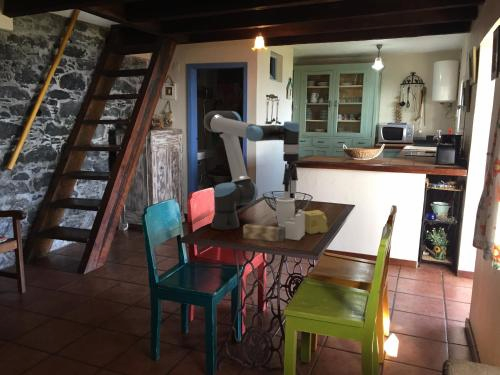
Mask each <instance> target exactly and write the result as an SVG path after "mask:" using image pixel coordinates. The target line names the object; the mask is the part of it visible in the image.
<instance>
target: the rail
mask: <svg viewBox="0 0 500 375" xmlns="http://www.w3.org/2000/svg"><path fill="white" fill-rule="evenodd" d="M242 229H243V231H242V232H243V239H248V240H250V239H251V240H261V241H266V242H267V241H269V242H270V241H271V242H279V243H283V242H284V241H285V240H286V239H285V227H279V226H271V225H270V226H268V225H259V224H250V223H249V224H247V223H246V224H245V225H243V228H242Z"/></svg>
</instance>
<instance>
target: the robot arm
mask: <svg viewBox="0 0 500 375" xmlns="http://www.w3.org/2000/svg"><path fill="white" fill-rule="evenodd" d="M203 125H204V128H205V129H206V130H207V131H209V132H212V133H218V134H219V137H220V138H221V139H222V140H223V144H224V148H225V153H226V156H227V161H228V162H227V163H228V165H229V171H230V174H231V178H232V180H231V182H222V183H219V184H217V185H215V186H214V189H213V197H214V198H213V201H214V202H213V203H214V205H213V206H214V212H213V217H212V220H211V228H212V229H214V230H219V231H220V230H223V231H228V230H234V229H235V230H236V229H238V228H239V227H240V221H239V218H238V214H237V206H242V205H248V204H251V203H253V202H255V201H256V200H257V197H258V194H259V190H258V186H257V184H255V182H252V179H251V177H249V175H248V173H247V169H246V165H245V160H244V156H243V151H242V148H241V143H240V139H239V137H240V138H244V139H247V140H248V141H250V142H264V141H265V142H267V141H283V148H282V149H283V150H282V151H283V155H282V156H283V157H282V158H283V159H282V161H283V162H286V163H285V164H284V173H283V181H282V185H283V197H284V198H291V194H297V181H298V180H299V178H298V172H297V171H298V168H297V162H299V158H300V157H299V152H300V150H299V149H300V148H301V147H300V145H299V144H300V143H299V142H300V141H299V139H300V124H299V121H295V120H294V121H290V120H289V121H288V120H287V121H286V120H285V121H284V122H283V125H280V124H279V125H278V124H277V125H276V124H269V125H268V124H267V125H261V124H259V125H258V124H253V123H249V122H245V121H242V118H241V116H240V114H239V113H238V112H237V111H233V110H212V111H209V112H207V113H206V114H205V115H204V118H203Z"/></svg>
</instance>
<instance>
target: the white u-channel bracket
mask: <svg viewBox="0 0 500 375" xmlns="http://www.w3.org/2000/svg"><path fill="white" fill-rule="evenodd" d="M305 212H306V211H305V210H304V211H303V210H302V209H298V210H297V214H296V213H295V214H294V218H291V219H290V222H285V227H284V228H285V240H295V241H300V240H301V239H302V238H303V237H304V236H305V233H306V232H305Z"/></svg>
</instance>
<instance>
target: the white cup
mask: <svg viewBox="0 0 500 375" xmlns="http://www.w3.org/2000/svg"><path fill="white" fill-rule="evenodd" d="M295 199H296V198H292V197H290V198H284V196H283V197H277V198H275V201H276V205H275V213H276V220H277V222H278V223H277V227H284V228H285V222H290V219H291V218H295V215H296V213H295V211H296V206H295V205H296V204H295V202H296V200H295Z"/></svg>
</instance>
